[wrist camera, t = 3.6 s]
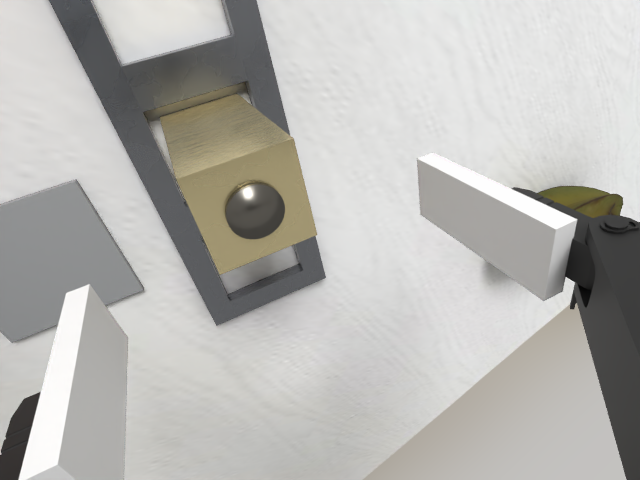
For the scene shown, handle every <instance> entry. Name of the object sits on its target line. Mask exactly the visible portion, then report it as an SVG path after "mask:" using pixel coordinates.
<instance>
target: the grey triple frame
mask: <svg viewBox="0 0 640 480" xmlns="http://www.w3.org/2000/svg"><path fill="white" fill-rule="evenodd" d="M49 1H50V3H51V5H52V7H53V9H54V11H55V13H56V15H57V17H58V19H59V21H60V23H61V25H62V27H63V29H64V30H65V32H66V34H67V36H68V38H69V40H70V42H71V44H72V46H73V48H74V50H75V52H76V54H77V56H78V58H79V60H80V62H81V63H82V65H83V67H84V69H85V71H86V73H87V75H88V77H89V79H90V81H91V83H92V85H93V87H94V89H95V91H96V93H97V95H98V96H99V98H100V100H101V102H102V104H103V106H104V108H105V110H106V112H107V114H108V116H109V118H110V120H111V122H112V124H113V126H114V128H115V129H116V131H117V133H118V135H119V137H120V139H121V141H122V143H123V145H124V147H125V149H126V151H127V153H128V155H129V157H130V159H131V161H132V162H133V164H134V166H135V168H136V170H137V172H138V174H139V176H140V178H141V180H142V182H143V184H144V186H145V188H146V190H147V192H148V194H149V195H150V197H151V199H152V201H153V203H154V205H155V207H156V209H157V211H158V213H159V215H160V217H161V219H162V221H163V223H164V225H165V227H166V228H167V230H168V232H169V234H170V236H171V238H172V240H173V242H174V244H175V246H176V248H177V250H178V252H179V254H180V256H181V258H182V260H183V261H184V263H185V265H186V267H187V269H188V271H189V273H190V275H191V277H192V279H193V281H194V283H195V285H196V287H197V289H198V291H199V293H200V294H201V296H202V298H203V300H204V302H205V304H206V306H207V308H208V310H209V312H210V314H211V316H212V318H213V320H214V322H215V324H216V326H217V325H219V324H221V323H223V322H226V321H228V320H230V319H233V318H235V317H237V316H239V315H242V314H244V313H246V312H249V311H251V310H253V309H255V308H258V307H260V306H262V305H264V304H267V303H269V302H271V301H274V300H276V299H278V298H280V297H283V296H285V295H287V294H289V293H292V292H294V291H296V290H299V289H301V288H303V287H305V286H308V285H310V284H312V283H314V282H317V281H319V280H321V279H324V278H326V277H325V273H324V269H323V265H322V261H321V257H320V253H319V249H318V245H317V241H316V237H315V236H313V237H311V238H308V239H306V240H304V241H301V242H299V243H296V244H294V248H295V252H296V255H297V259H298V262H299V264H298V265H296V266H294V267H291V268H289V269H287V270H284V271H282V272H279V273H277V274H275V275H272V276H270V277H268V278H265V279H263V280H261V281H258V282H256V283H254V284H251V285H249V286H246V287H244V288H242V289H239V290H237V291H235V292H232V293H230V294H228V295H227V293H226V291H225V288H224V286H223V284H222V282H221V280H220V277H219V275H218V273H217V271H216V269H215V267H214V264H213V262H212V260H211V258H210V256H209V254H208V251H207V249H206V247H205V245H204V243H203V241H202V238H201V237H202V235H201V232H200V230H199V228H198V226H197V224H196V221H195V219H194V217H193V215H192V213H191V210H190V208H189V206H188V204H187V202H186V201H184V199H183V197H182V195H181V193H180V191H179V188H178V186H177V184H176V182H175V180H174V178H173V175H172V173H171V171H170V169H169V167H168V164H167V162H166V160H165V158H164V156H163V154H162V151H161V149H160V147H159V145H158V143H157V141H156V138H155V136H154V134H153V132H152V130H151V128H150V125H149V123H148V121H147V119H146V117H145V115H144V112H145V111H148V110H152V109H155V108H158V107H162V106H165V105H168V104H171V103H175V102H178V101H181V100H185V99H188V98H191V97H195V96H198V95H201V94H205V93H208V92H211V91H214V90H218V89H221V88H224V87H228V86H231V85H234V84H238V83H241V82H244V81H245V82H246V86H247V89H248V92H249V96H250V99H251V103H252V106H253V107H254V108H256V109H257V110H258V111H259V112H261V113H262V114H263V115H265V116H266V117H267V118H268V119H270V120H271V121H272V122H273V123H275V124H276V125H277V126H278V127H280V128H281V129H282V130H283V131H285V132H286V133H287V134H288V135H290V133H289V129H288V125H287V121H286V117H285V113H284V109H283V105H282V101H281V97H280V93H279V89H278V85H277V81H276V77H275V73H274V69H273V65H272V61H271V57H270V53H269V49H268V45H267V41H266V37H265V33H264V29H263V25H262V21H261V17H260V13H259V9H258V5H257V1H256V0H221V1H222V4H223V8H224V11H225V14H226V18H227V21H228V25H229V28H230V31H231V35H229V36H225V37H222V38H218V39H214V40H211V41H207V42H203V43H200V44H196V45H192V46H189V47H185V48H181V49H178V50H174V51H170V52H167V53H163V54H159V55H156V56H152V57H148V58H145V59H141V60H137V61H134V62H130V63H126V64H123V65H121V62H120V60H119V58H118V56H117V54H116V52H115V49H114V47H113V45H112V43H111V41H110V38H109V36H108V34H107V32H106V30H105V28H104V25H103V23H102V21H101V19H100V17H99V15H98V12H97V10H96V8H95V6H94V4H93V2H92V0H49Z"/></svg>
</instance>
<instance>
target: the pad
mask: <svg viewBox="0 0 640 480" xmlns="http://www.w3.org/2000/svg"><path fill="white" fill-rule="evenodd" d="M88 284H90V285H91V287H92V288H93V289H94V291H95V292H96V294H97V295H98V296H99V298H100V299H101V301H102V302H103V303H104V305H107V304H110V303H112V302H115V301H117V300H120V299H122V298H125V297H127V296H130V295H132V294H135V293H137V292H140V291H142V290H143V286H142V284H141V282H140V281H139V279H138V278H137V276H136V274H135V273H134V271H133V270H132V268H131V266H130V265H129V263H128V262H127V260H126V258H125V257H124V255H123V254H122V252H121V250H120V249H119V247H118V245H117V244H116V242H115V241H114V239H113V237H112V236H111V234H110V233H109V231H108V229H107V228H106V226H105V225H104V223H103V221H102V220H101V218H100V217H99V215H98V213H97V212H96V210H95V209H94V207H93V205H92V204H91V202H90V201H89V199H88V197H87V196H86V194H85V192H84V191H83V189H82V188H81V186H80V184H79V183H78V181H77V180H73V181H70V182H67V183H64V184H61V185H58V186H54V187H51V188H48V189H45V190H42V191H39V192H36V193H33V194H30V195H27V196H24V197H21V198H18V199H15V200H12V201H9V202H6V203H3V204H0V332H1V333H2V334H3V335H4V336H5V337H6V338H7V339H8V340H9V341H10V342H11V343H13V342H15V341H18V340H20V339H23V338H25V337H28V336H30V335H33V334H35V333H38V332H40V331H43V330H45V329H48V328H50V327H53V326H55V325H58V323H59V319H60V315H61V312H62V308H63V304H64V300H65V296H66V293H68V292H70V291H73V290H75V289H78V288H81V287H83V286H86V285H88Z"/></svg>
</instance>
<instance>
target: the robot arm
mask: <svg viewBox="0 0 640 480" xmlns="http://www.w3.org/2000/svg"><path fill="white" fill-rule="evenodd" d="M417 167H418V183H419V199H420V214H421V215H422V216H423V217H425V218H426V219H428V220H429V221H430V222H432V223H433V224H435V225H436V226H437V227H439V228H440V229H442V230H443V231H445V232H446V233H447V234H449V235H450V236H452V237H453V238H455V239H456V240H457V241H459V242H460V243H462V244H463V245H465V246H466V247H467V248H469V249H470V250H472V251H473V252H475V253H476V254H477V255H479V256H480V257H482V258H483V259H485V260H486V261H487V262H489V263H490V264H492V265H493V266H494V267H496V268H497V269H499V270H500V271H502V272H503V273H504V274H506V275H507V276H509V277H510V278H512V279H513V280H514V281H516V282H517V283H519V284H520V285H522V286H523V287H524V288H526V289H527V290H529V291H530V292H532V293H533V294H534V295H536V296H537V297H539V298H540V299H541V300H543V301H545V300H547V299H549V298H551V297H553V296H555V295H556V294H558V293H560V292H562V291H563V286H564V282H565V277H567V278H569V279H571V280H572V281H574V282H575V286H574V290H573V294H572V299H571V303H570V309H574V307H575V304H576V303H577V304H578V308H579V311H580V315H581V318H582V322H583V326H584V329H585V333H586V336H587V340H588V344H589V347H590V350H591V354H592V358H593V361H594V365H595V369H596V372H597V376H598V379H599V383H600V386H601V390H602V394H603V397H604V400H605V404H606V408H607V411H608V415H609V419H610V422H611V426H612V429H613V433H614V436H615V440H616V444H617V447H618V451H619V454H620V458H621V461H622V465H623V468H624V472H625V476H626V479H627V480H640V222H637V221H635V220H633V219H631V218H627V217H623V216H617V215H603V216H598V217H595V218H591V217H589V216H587V215H584V214H582V213H580V212H578V211H575V210H573V209H571V208H569V207H566V206H564V205H562V204H560V203H557V202H556V203H555V202H554V201H553V200H551V199H548V198H544V197H543V196H542V195H539V194H537V193H535V192H533V191H530V190H525V189H520V188H515V187H514V188H512V189H510V188H508V187H506V186H504V185H502V184H500V183H497V182H495V181H493V180H491V179H489V178H487V177H484V176H482V175H480V174H478V173H476V172H474V171H472V170H469V169H467V168H465V167H463V166H461V165H459V164H456V163H454V162H452V161H450V160H448V159H446V158H443V157H441V156H439V155H437V154H435V153H433V152H432V153H430V154H427V155H425V156H422V157H419V158H417ZM127 359H128V337H127V335H126V334H125V333H124V331H123V330H122V328H121V327H120V326H119V324H118V323H117V321H116V320H115V319H114V317H113V316H112V314H111V313H110V312H109V310H108V309H107V308H106V306H105V305H104V303H103V302H102V301H101V299H100V298H99V296H98V295H97V294H96V292H95V291H94V289H93V288H92V287H91V285H90V284H88V285H86V286H83V287H81V288H78V289H75V290H73V291H70V292H68V293H66V296H65V300H64V304H63V308H62V312H61V315H60V319H59V323H58V327H57V331H56V335H55V339H54V343H53V347H52V351H51V355H50V358H49V362H48V366H47V370H46V374H45V378H44V382H43V386H42V390H41V392H39V393H37V394H35V395H32V396H30V397H28V398H25V399H24V400H23V401H22V403H21V404H20V406H19V407H18V409H17V410H16V412H15V413H14V415H13V416H12V418H11V420H10V424H9V427H8V430H7V433H6V436H5V437H6V440H4V443H3V446H2V449H1V453H2V455H0V480H124V466H125V431H126V395H127Z"/></svg>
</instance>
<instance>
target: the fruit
mask: <svg viewBox="0 0 640 480" xmlns="http://www.w3.org/2000/svg"><path fill="white" fill-rule="evenodd" d="M537 194H539V195H542V196H543V197H544V198H548V199H551V200H553V201H554V202H555V203H556V202H557V203H560V204H562V205H564V206H566V207H569V208H571V209H573V210H575V211H578V212H580V213H582V214H584V215H587V216H589V217H591V218H595V217H598V216H603V215H617V216H620V212H621V209H622V205H623V197H621V196H620V195H618V194H609V193H607V192H604V191H601V190H598V189H595V188H589V187H583V186H559V187H555V188H550V189H547V190H544V191H541V192H539V193H537Z"/></svg>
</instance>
